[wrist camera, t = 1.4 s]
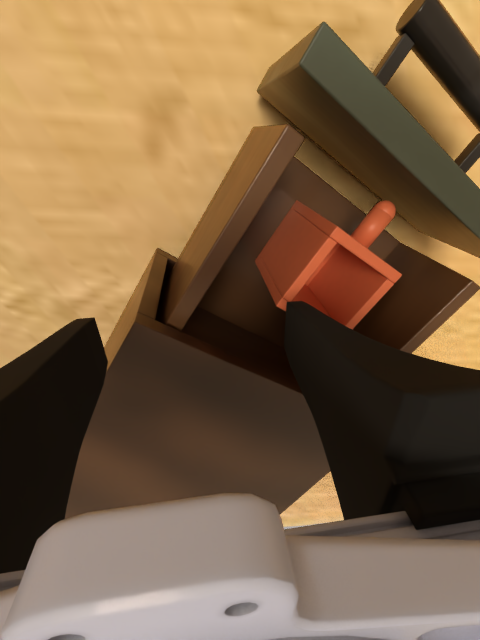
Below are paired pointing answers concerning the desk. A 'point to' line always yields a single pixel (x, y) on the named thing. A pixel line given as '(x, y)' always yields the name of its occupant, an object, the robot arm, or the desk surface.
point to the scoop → (328, 263)
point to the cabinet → (189, 419)
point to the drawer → (305, 186)
